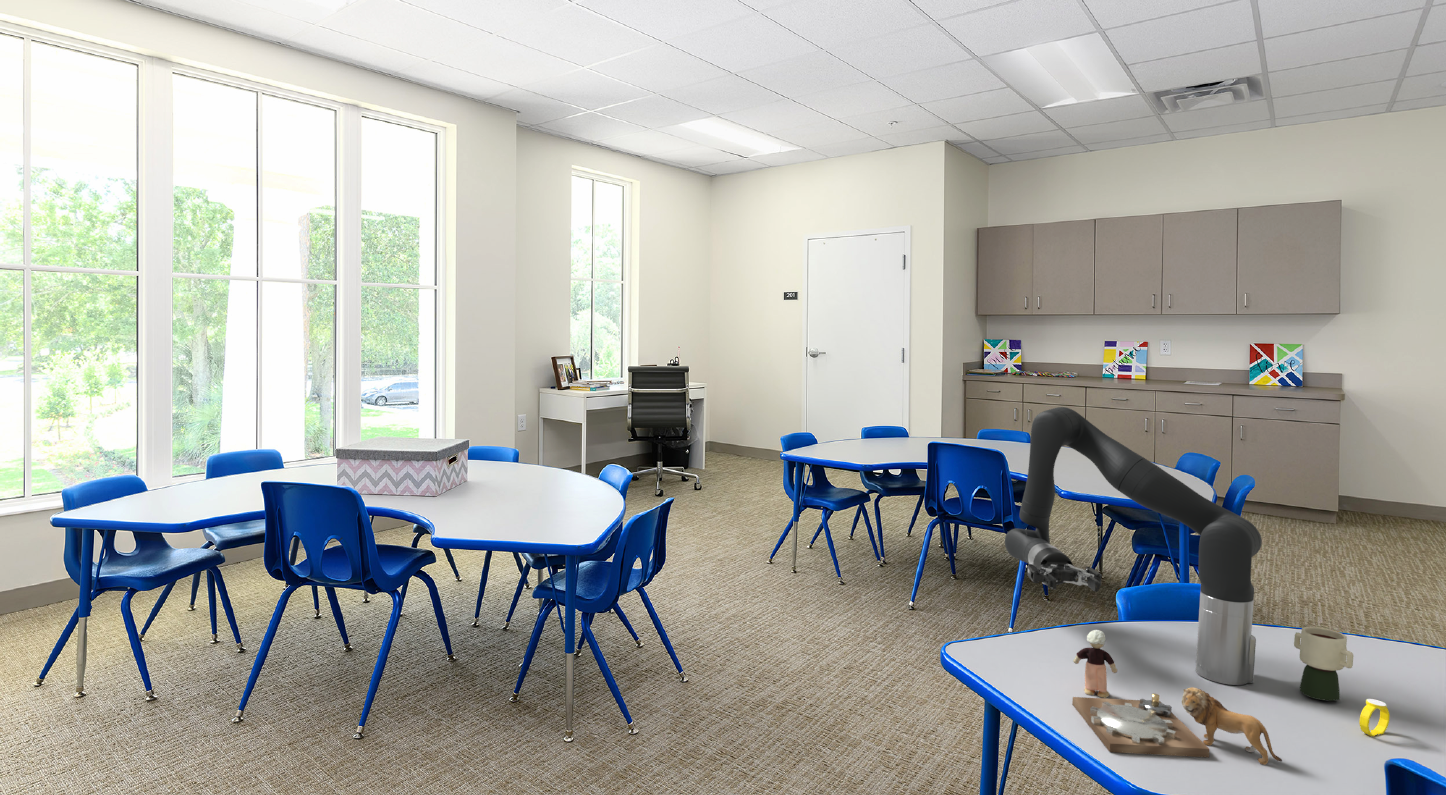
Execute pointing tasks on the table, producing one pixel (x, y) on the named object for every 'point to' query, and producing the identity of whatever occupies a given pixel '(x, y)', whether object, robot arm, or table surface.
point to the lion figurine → (1225, 721)
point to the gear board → (1180, 746)
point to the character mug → (1322, 661)
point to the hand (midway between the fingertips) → (1075, 586)
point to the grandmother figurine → (1096, 664)
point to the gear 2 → (1156, 706)
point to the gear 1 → (1132, 723)
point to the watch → (1367, 714)
